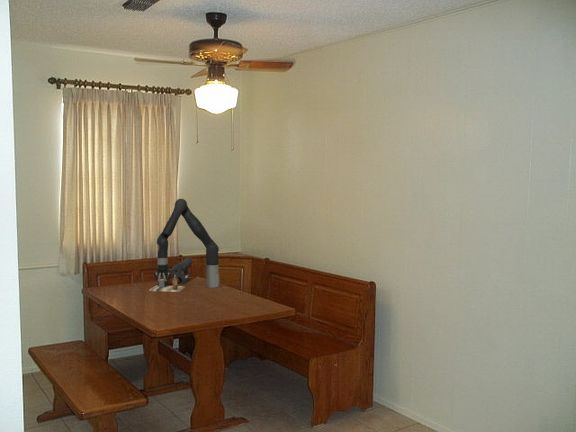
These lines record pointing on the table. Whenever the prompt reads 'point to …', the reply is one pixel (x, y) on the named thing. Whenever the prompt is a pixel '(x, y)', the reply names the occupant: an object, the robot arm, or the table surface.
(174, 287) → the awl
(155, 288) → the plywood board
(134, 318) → the table surface
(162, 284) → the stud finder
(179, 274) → the gun
